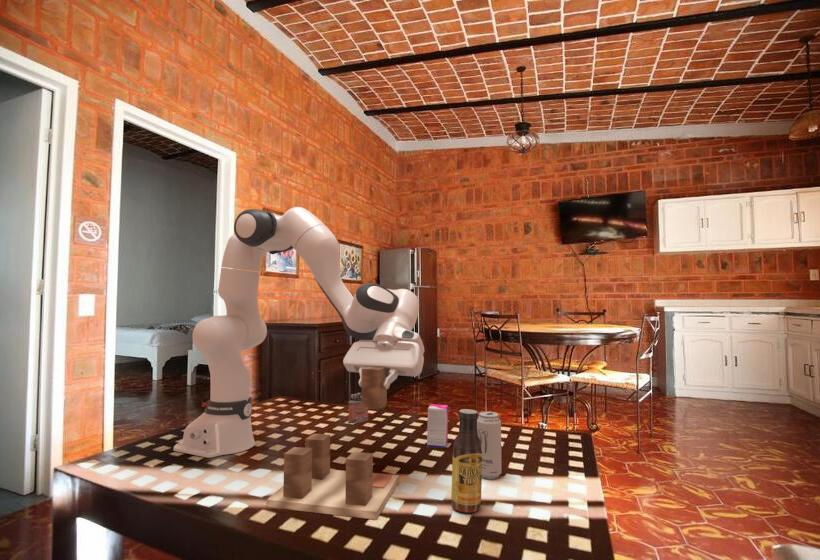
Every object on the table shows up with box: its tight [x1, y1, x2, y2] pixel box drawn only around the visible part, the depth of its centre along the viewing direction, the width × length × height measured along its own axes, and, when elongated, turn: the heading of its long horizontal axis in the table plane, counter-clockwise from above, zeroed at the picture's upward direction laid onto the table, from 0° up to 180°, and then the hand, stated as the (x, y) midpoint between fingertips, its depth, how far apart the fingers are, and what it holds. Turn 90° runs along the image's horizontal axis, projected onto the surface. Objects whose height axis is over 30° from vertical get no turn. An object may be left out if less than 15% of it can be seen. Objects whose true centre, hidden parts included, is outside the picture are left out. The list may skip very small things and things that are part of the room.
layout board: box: [266, 433, 400, 520], centre depth 95 cm, size 24×18×10 cm
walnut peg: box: [360, 366, 388, 411], centre depth 99 cm, size 4×4×9 cm
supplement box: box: [426, 403, 449, 449], centre depth 128 cm, size 6×6×12 cm
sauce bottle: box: [450, 408, 483, 514], centre depth 89 cm, size 7×6×20 cm
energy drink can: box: [477, 411, 503, 480], centre depth 106 cm, size 6×6×15 cm
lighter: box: [347, 392, 369, 424], centre depth 154 cm, size 8×3×10 cm, turn 130°
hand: (372, 386), depth 99 cm, fingers closed on walnut peg, 4 cm apart
